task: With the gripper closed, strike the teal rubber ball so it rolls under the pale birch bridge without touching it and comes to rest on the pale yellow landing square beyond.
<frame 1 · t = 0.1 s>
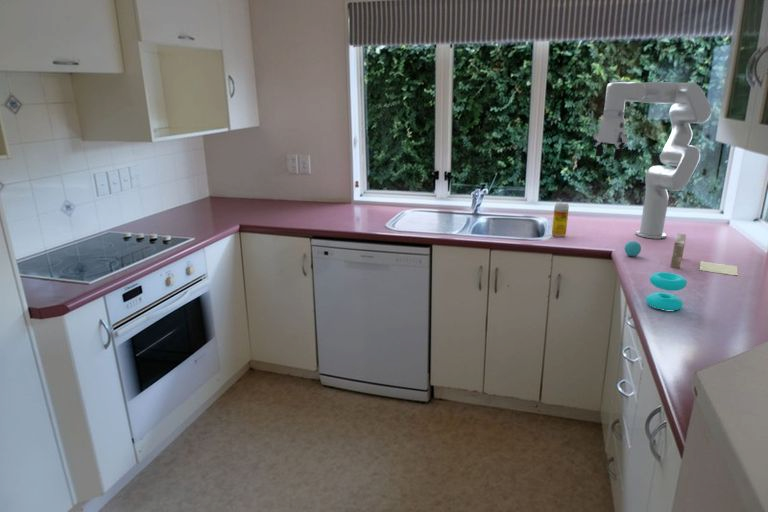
hand: (607, 157, 219), 37 cm above the worktop, tool pointing down, fingers open, 9 cm apart
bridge: (676, 262, 206), on the worktop
donuts: (663, 307, 165), on the worktop
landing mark: (718, 268, 199), on the worktop
ball: (632, 248, 213), on the worktop
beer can: (558, 235, 244), on the worktop
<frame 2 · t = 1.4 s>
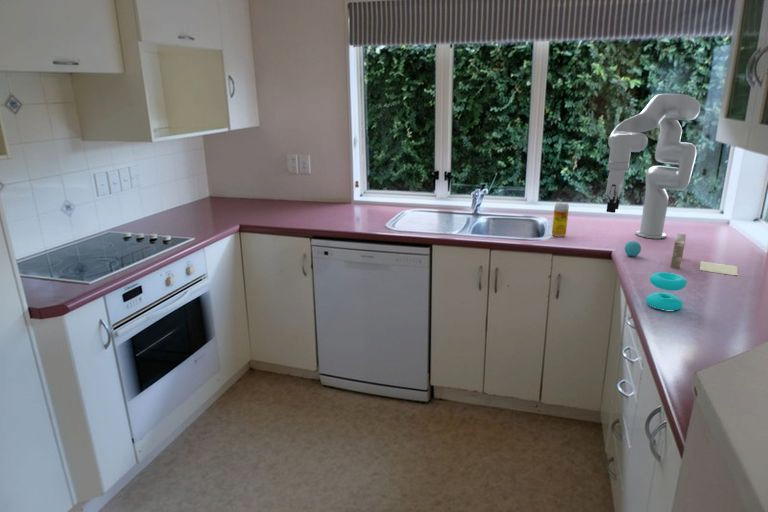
hand: (612, 210, 213), 18 cm above the worktop, tool pointing down, fingers open, 6 cm apart
nothing on the worktop moved.
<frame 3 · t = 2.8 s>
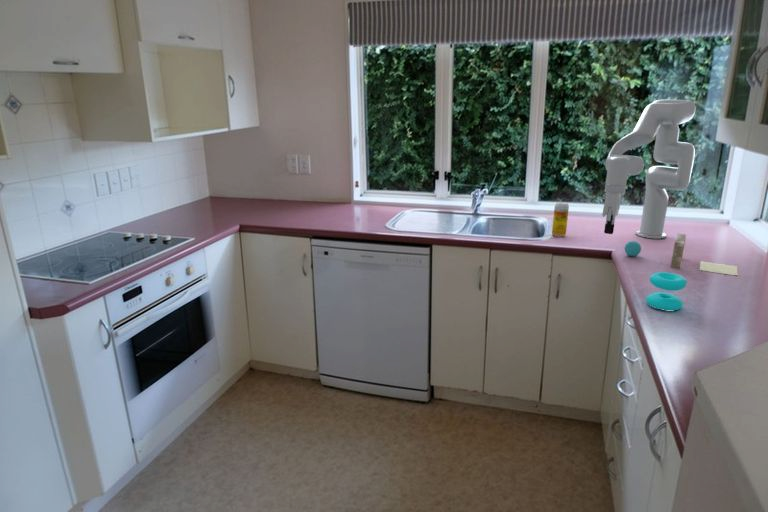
hand: (608, 233, 216), 8 cm above the worktop, tool pointing down, fingers closed
nothing on the worktop moved.
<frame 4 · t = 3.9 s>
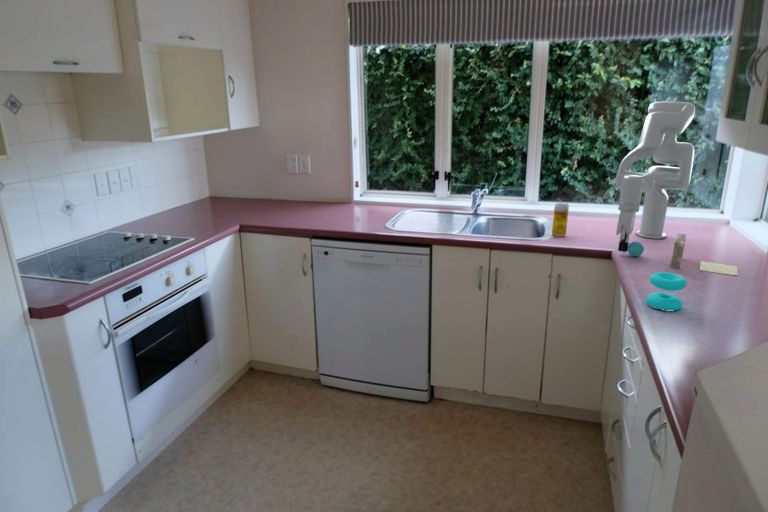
hand: (622, 250, 215), 1 cm above the worktop, tool pointing down, fingers closed
ball: (635, 249, 213), on the worktop
everything else where it was.
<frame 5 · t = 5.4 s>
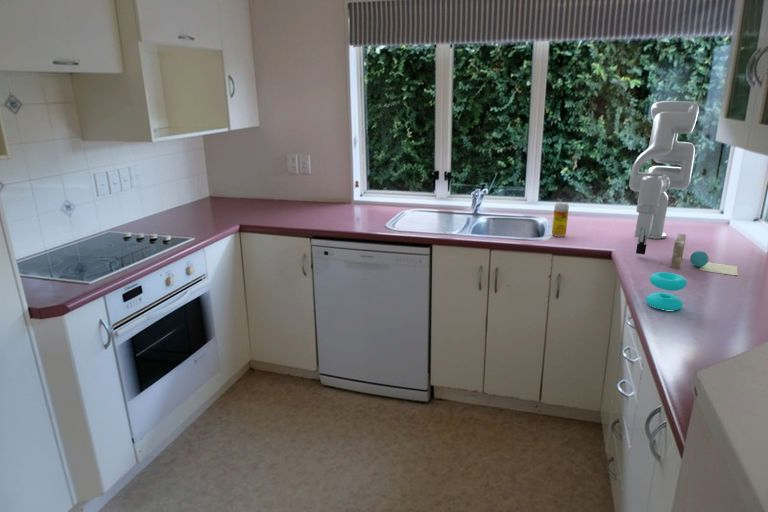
hand: (640, 253, 212), 2 cm above the worktop, tool pointing down, fingers closed
ball: (699, 258, 201), on the worktop
everything else where it was.
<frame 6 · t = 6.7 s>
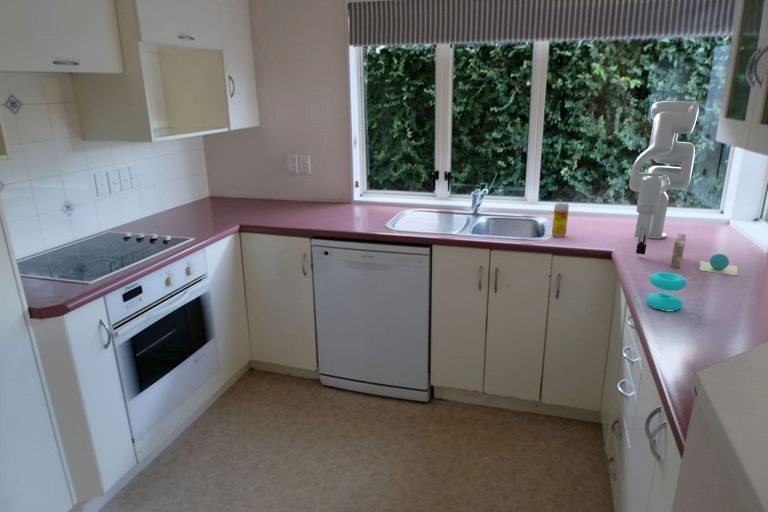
hand: (640, 253, 212), 2 cm above the worktop, tool pointing down, fingers closed
ball: (719, 261, 197), on the worktop
everything else where it was.
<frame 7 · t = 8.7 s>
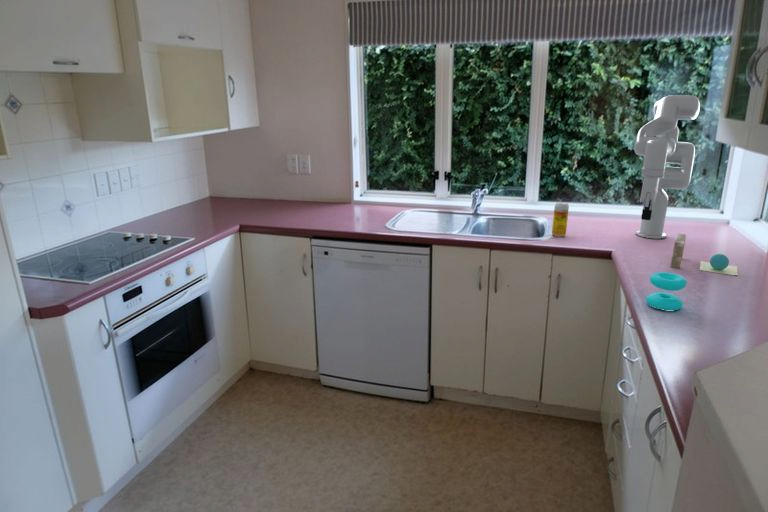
hand: (645, 219, 208), 15 cm above the worktop, tool pointing down, fingers closed
nothing on the worktop moved.
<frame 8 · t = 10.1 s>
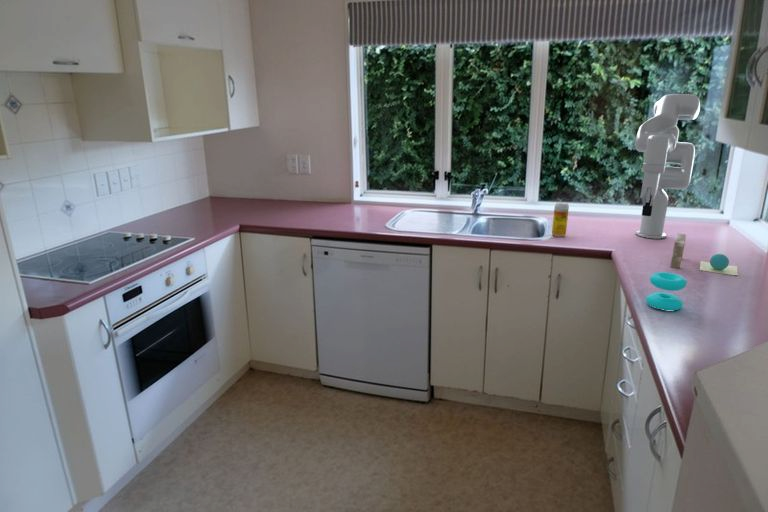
hand: (646, 215, 207), 17 cm above the worktop, tool pointing down, fingers closed
nothing on the worktop moved.
at the end: ball 1.4 cm from the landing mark (horizontally); ball never touched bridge; ball at rest at the end (0.0 cm/s) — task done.
